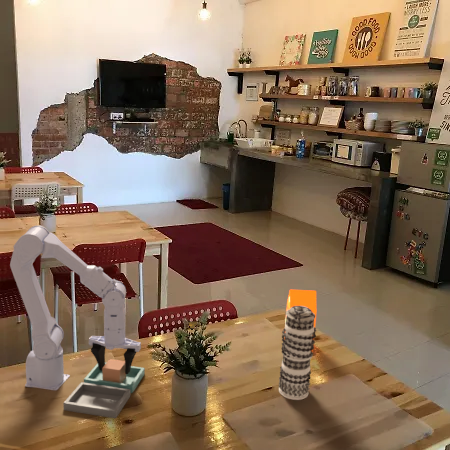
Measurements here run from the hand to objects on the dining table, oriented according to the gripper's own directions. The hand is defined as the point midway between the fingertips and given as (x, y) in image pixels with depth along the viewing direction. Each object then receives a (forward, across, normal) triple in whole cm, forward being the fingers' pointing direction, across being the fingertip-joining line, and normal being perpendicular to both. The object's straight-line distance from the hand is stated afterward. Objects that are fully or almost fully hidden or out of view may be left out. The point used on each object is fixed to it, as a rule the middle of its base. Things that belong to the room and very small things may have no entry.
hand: (114, 370), depth 142 cm
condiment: (+4, +17, +17) cm, 24 cm away
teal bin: (+3, 0, 0) cm, 3 cm away
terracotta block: (+3, 0, 0) cm, 3 cm away
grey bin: (+3, 0, -12) cm, 12 cm away
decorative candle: (+3, +50, +8) cm, 51 cm away
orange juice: (+3, +50, +36) cm, 62 cm away
